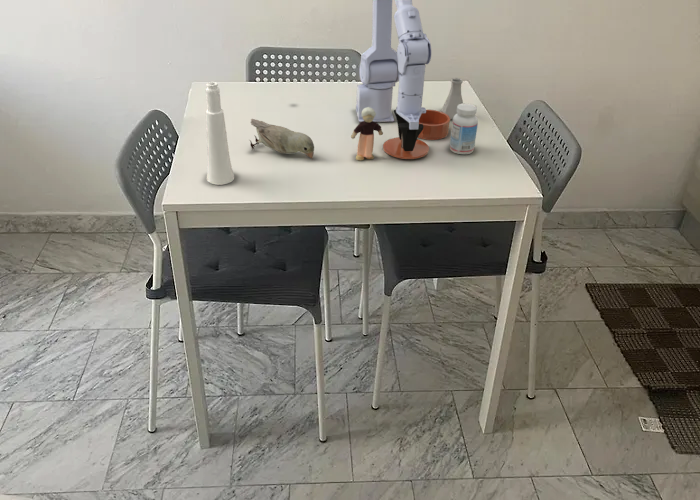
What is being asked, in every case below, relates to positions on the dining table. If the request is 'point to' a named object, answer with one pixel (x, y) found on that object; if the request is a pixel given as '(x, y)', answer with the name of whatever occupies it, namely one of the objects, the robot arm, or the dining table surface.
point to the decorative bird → (282, 139)
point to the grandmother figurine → (366, 134)
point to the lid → (397, 150)
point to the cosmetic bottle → (217, 139)
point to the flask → (453, 98)
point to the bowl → (434, 125)
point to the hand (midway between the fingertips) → (406, 144)
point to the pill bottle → (464, 129)
